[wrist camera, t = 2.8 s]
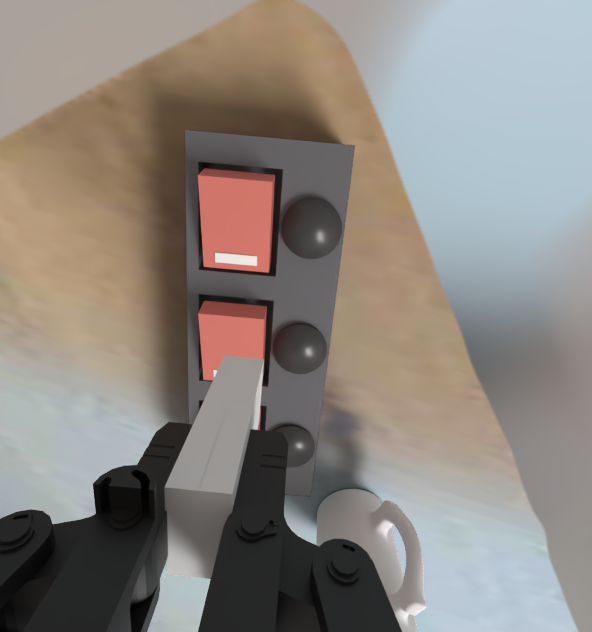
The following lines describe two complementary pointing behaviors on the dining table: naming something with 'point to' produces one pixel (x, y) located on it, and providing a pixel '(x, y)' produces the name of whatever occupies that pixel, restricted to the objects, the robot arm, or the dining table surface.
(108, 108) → the dining table surface
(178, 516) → the robot arm
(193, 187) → the switch panel
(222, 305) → the rocker
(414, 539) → the mug
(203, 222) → the rocker
